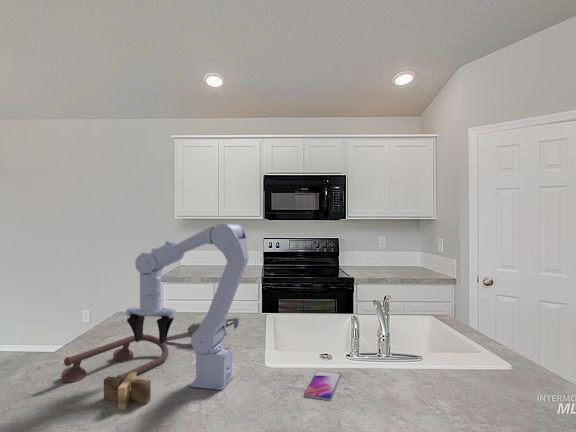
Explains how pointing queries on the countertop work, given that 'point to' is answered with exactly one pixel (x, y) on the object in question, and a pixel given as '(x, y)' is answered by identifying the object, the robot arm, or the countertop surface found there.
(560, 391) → the countertop surface
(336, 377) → the smartphone
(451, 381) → the countertop surface
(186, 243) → the robot arm
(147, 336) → the toilet paper hanger
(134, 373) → the light wooden block
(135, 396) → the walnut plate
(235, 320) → the toy gun
